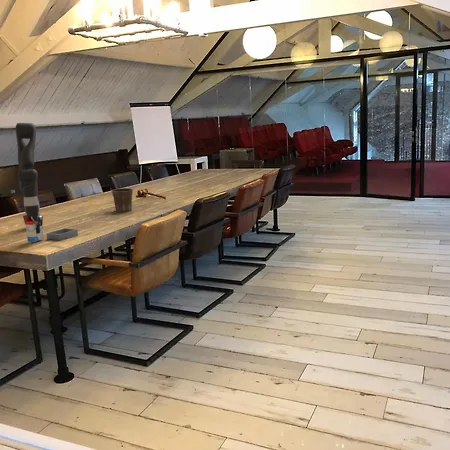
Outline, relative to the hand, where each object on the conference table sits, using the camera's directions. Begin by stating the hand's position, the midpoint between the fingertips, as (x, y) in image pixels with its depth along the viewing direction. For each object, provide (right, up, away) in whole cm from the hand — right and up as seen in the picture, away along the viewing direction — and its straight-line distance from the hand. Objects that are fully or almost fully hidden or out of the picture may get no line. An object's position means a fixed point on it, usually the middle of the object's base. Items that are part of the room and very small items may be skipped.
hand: (34, 232), depth 284 cm
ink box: (0, -5, +1) cm, 5 cm away
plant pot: (+33, +15, +91) cm, 98 cm away
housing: (+13, -3, +10) cm, 16 cm away
